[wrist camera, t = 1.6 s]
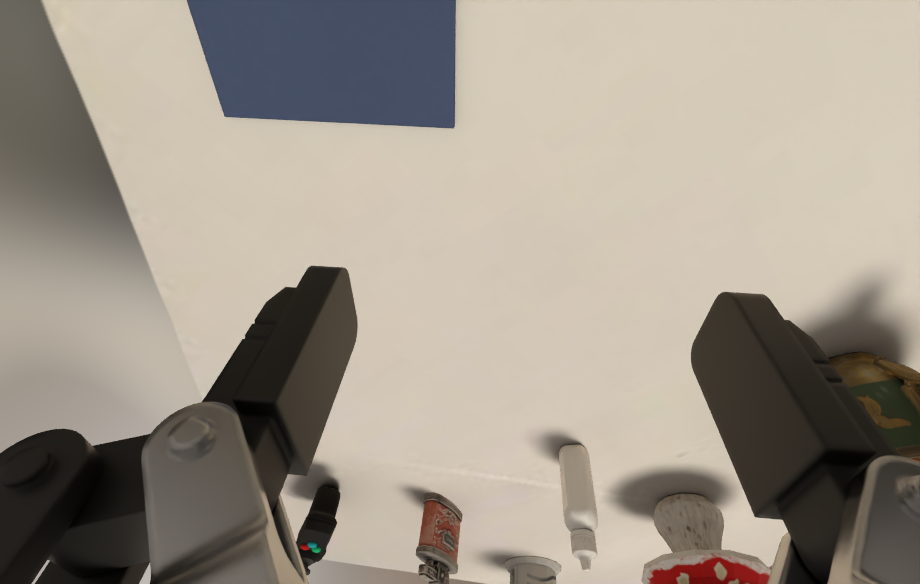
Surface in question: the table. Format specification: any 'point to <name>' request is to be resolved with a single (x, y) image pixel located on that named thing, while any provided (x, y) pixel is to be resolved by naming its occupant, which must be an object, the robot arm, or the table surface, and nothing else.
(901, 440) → the cup
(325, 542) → the controller
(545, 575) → the french press
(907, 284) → the table surface
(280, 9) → the flat panel
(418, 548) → the lighter
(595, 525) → the eye dropper bottle
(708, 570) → the decorative mushroom
